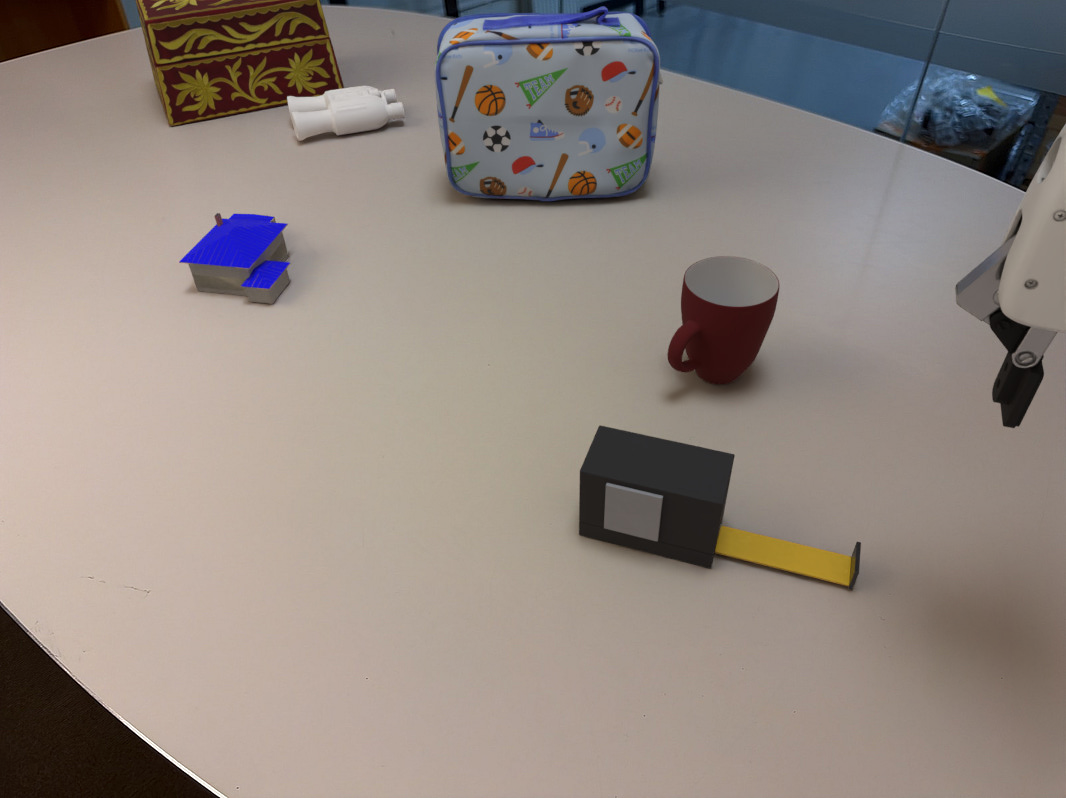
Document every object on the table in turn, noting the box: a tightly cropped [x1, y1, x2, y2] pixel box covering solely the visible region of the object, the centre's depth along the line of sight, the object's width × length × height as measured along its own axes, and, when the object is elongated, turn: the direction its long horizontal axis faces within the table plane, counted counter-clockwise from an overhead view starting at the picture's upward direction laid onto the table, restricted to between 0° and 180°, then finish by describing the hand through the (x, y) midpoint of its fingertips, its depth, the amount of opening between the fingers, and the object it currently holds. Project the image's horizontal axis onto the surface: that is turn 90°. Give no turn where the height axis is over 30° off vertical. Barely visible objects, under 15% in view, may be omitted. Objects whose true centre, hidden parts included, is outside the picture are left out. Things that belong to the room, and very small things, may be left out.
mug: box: [667, 255, 781, 386], centre depth 71 cm, size 10×8×10 cm
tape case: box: [578, 425, 736, 569], centre depth 59 cm, size 10×6×7 cm, turn 70°
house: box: [178, 212, 291, 305], centre depth 90 cm, size 11×14×6 cm
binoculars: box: [287, 85, 405, 142], centre depth 120 cm, size 10×16×5 cm, turn 109°
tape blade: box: [714, 524, 862, 591], centre depth 58 cm, size 10×3×2 cm, turn 70°
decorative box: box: [134, 0, 345, 127], centre depth 129 cm, size 28×19×15 cm
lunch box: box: [434, 5, 664, 202], centre depth 97 cm, size 28×10×22 cm, turn 92°
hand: (1045, 416), depth 45 cm, fingers open, 3 cm apart
